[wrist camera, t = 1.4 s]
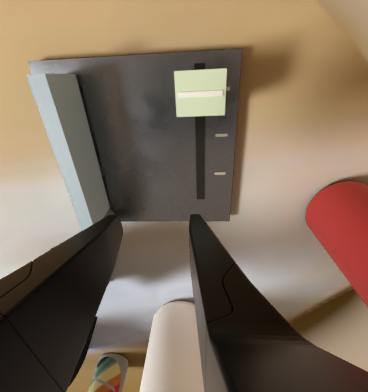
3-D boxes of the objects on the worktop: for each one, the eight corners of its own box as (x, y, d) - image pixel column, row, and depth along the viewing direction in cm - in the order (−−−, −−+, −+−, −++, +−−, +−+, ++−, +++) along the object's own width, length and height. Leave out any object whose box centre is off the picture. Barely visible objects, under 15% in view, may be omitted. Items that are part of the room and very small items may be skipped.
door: (116, 221, 23) (102, 246, 20) (100, 221, 23) (84, 246, 20) (79, 73, 16) (49, 73, 13) (57, 75, 16) (21, 74, 13)
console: (228, 215, 23) (229, 221, 22) (87, 216, 24) (82, 222, 23) (239, 49, 16) (242, 48, 15) (36, 62, 17) (27, 61, 16)
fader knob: (219, 107, 17) (224, 115, 13) (181, 108, 17) (176, 117, 13) (220, 69, 15) (227, 68, 12) (179, 72, 16) (173, 71, 12)
